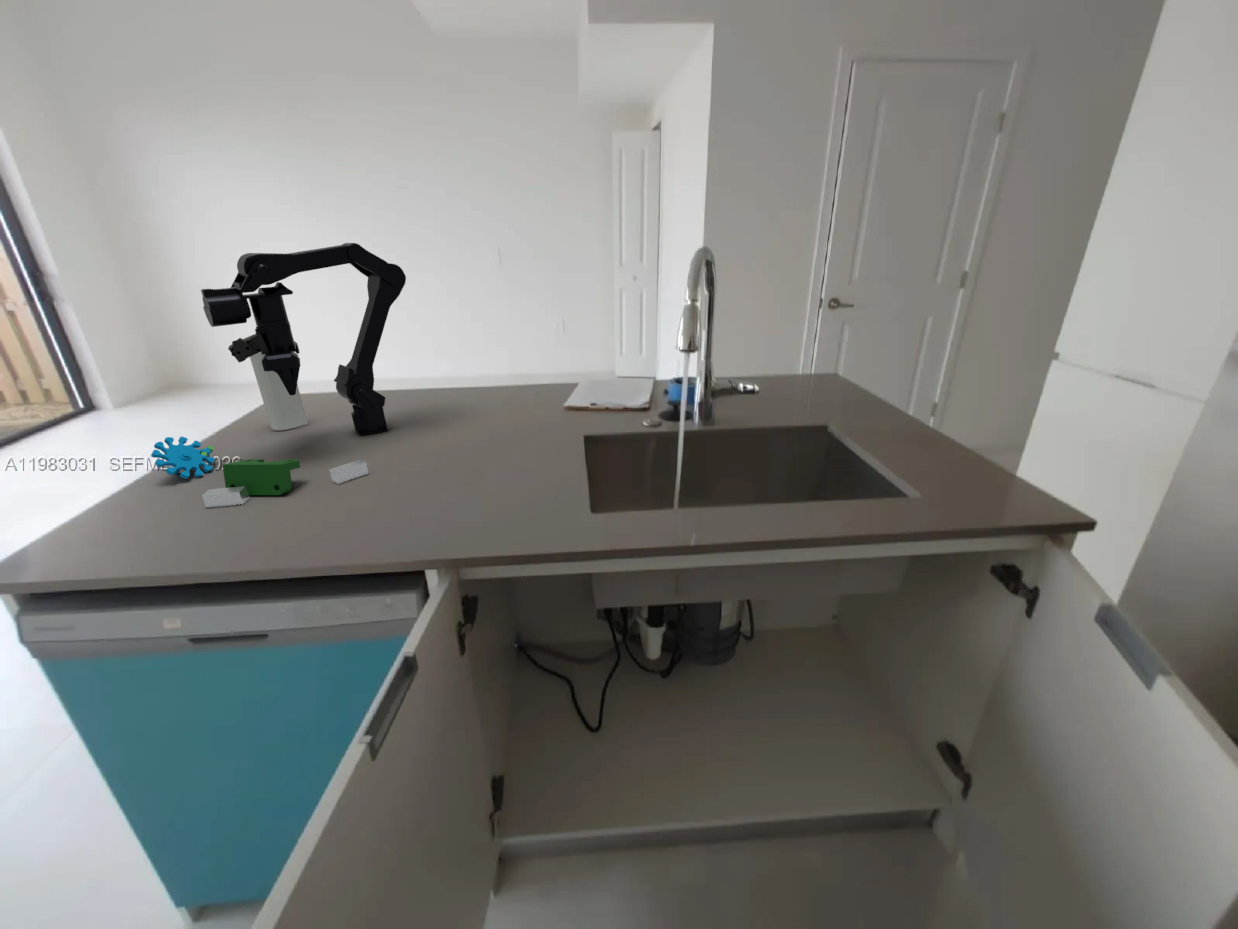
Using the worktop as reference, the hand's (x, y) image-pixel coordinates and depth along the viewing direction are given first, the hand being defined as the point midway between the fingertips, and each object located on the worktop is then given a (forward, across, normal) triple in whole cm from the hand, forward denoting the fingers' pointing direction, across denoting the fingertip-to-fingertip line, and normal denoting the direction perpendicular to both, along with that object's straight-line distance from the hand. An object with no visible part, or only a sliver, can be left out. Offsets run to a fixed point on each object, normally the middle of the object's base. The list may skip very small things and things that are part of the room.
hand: (292, 394), depth 117 cm
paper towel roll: (+12, -18, -4) cm, 22 cm away
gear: (+12, +3, -20) cm, 24 cm away
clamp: (+12, +20, -7) cm, 24 cm away
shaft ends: (+12, +23, -3) cm, 26 cm away
